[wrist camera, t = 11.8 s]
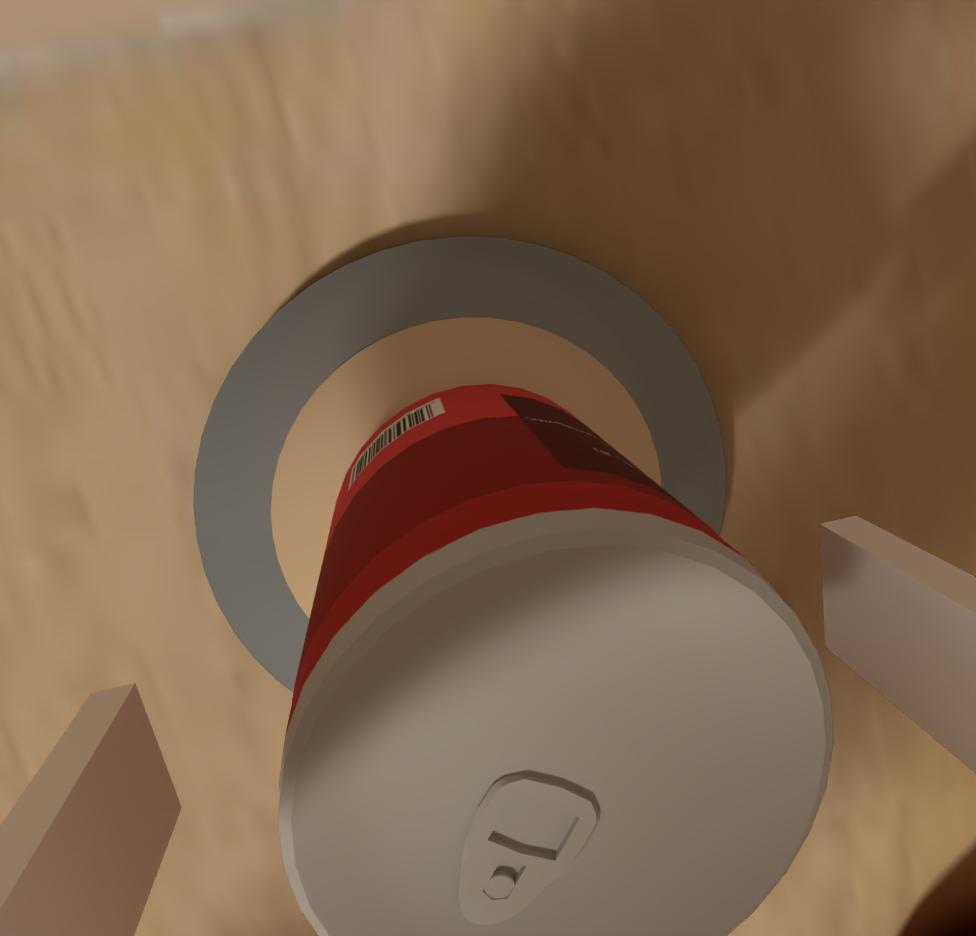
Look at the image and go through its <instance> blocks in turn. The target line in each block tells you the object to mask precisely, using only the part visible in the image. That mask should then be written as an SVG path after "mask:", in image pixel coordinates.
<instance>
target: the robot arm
mask: <svg viewBox="0 0 976 936" xmlns="http://www.w3.org/2000/svg"><path fill="white" fill-rule="evenodd" d="M820 542H821V565H822V587H823V609H824V631H825V647H826V648H827V649H829V650H830V651H831V652H832V653H833V654H835V655H836V656H837V657H838V658H839V659H840V660H842V661H843V662H844V663H845V664H846V665H848V666H849V667H850V668H851V669H852V670H854V671H855V672H856V673H857V674H858V675H859V676H861V677H862V678H863V679H864V680H865V681H867V682H868V683H869V684H870V685H871V686H872V687H874V688H875V689H876V690H877V691H878V692H880V693H881V694H882V695H883V696H884V697H886V698H887V699H888V700H889V701H890V702H891V703H893V704H894V705H895V706H896V707H897V708H899V709H900V710H901V711H902V712H903V713H905V714H906V715H907V716H908V717H909V718H910V719H912V720H913V721H914V722H915V723H916V724H918V725H919V726H920V727H921V728H922V729H923V730H925V731H926V732H927V733H928V734H929V735H931V736H932V737H933V738H934V739H935V740H937V741H938V742H939V743H940V744H941V745H942V746H944V747H945V748H946V749H947V750H948V751H950V752H951V753H952V754H953V755H954V756H956V757H957V758H958V759H959V760H960V761H961V762H963V763H964V764H965V765H966V766H967V767H969V768H970V769H971V770H972V771H973V772H975V773H976V577H975V576H973V575H971V574H969V573H967V572H965V571H963V570H961V569H959V568H957V567H956V566H954V565H952V564H950V563H948V562H946V561H944V560H942V559H940V558H938V557H936V556H934V555H932V554H930V553H928V552H926V551H924V550H922V549H920V548H918V547H916V546H915V545H913V544H911V543H909V542H907V541H905V540H903V539H901V538H899V537H897V536H895V535H893V534H891V533H889V532H887V531H885V530H883V529H881V528H879V527H877V526H876V525H874V524H872V523H870V522H868V521H866V520H864V519H862V518H860V517H858V516H852V517H847V518H843V519H839V520H835V521H830V522H826V523H822V524H820ZM180 810H181V804H180V802H179V799H178V796H177V794H176V791H175V788H174V786H173V783H172V780H171V778H170V775H169V772H168V770H167V767H166V764H165V762H164V759H163V756H162V754H161V751H160V748H159V746H158V743H157V740H156V737H155V735H154V732H153V729H152V727H151V724H150V721H149V719H148V716H147V713H146V711H145V708H144V705H143V703H142V700H141V697H140V695H139V692H138V689H137V687H136V684H135V683H134V684H129V685H125V686H121V687H117V688H112V689H108V690H104V691H99V692H95V693H91V695H90V696H89V697H88V699H87V700H86V702H85V703H84V705H83V706H82V708H81V709H80V711H79V712H78V714H77V715H76V716H75V718H74V719H73V721H72V722H71V724H70V725H69V727H68V728H67V730H66V731H65V732H64V734H63V735H62V737H61V738H60V740H59V741H58V743H57V744H56V746H55V747H54V749H53V750H52V751H51V753H50V754H49V756H48V757H47V759H46V760H45V762H44V763H43V765H42V766H41V767H40V769H39V770H38V772H37V773H36V775H35V776H34V778H33V779H32V781H31V782H30V783H29V785H28V786H27V788H26V789H25V791H24V792H23V794H22V795H21V797H20V798H19V800H18V801H17V802H16V804H15V805H14V807H13V808H12V810H11V811H10V813H9V814H8V816H7V817H6V818H5V820H4V821H3V823H2V824H1V826H0V936H134V934H135V931H136V929H137V926H138V923H139V921H140V918H141V915H142V912H143V910H144V907H145V904H146V902H147V899H148V896H149V894H150V891H151V888H152V886H153V883H154V880H155V877H156V875H157V872H158V869H159V867H160V864H161V861H162V859H163V856H164V853H165V851H166V848H167V845H168V842H169V840H170V837H171V834H172V832H173V829H174V826H175V824H176V821H177V818H178V816H179V813H180Z"/></svg>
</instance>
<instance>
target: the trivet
mask: <svg viewBox="0 0 976 936" xmlns="http://www.w3.org/2000/svg"><path fill="white" fill-rule="evenodd" d="M482 384H496V385H503V386H510V387H517V388H522V389H525V390H527V391H530V392H533V393H536V394H538V395H541V396H544V397H546V398H548V399H550V400H551V401H553V402H555V403H556V404H558V405H559V406H561V407H562V408H564V409H566V410H567V411H569V412H570V413H571V414H573V415H574V416H575V417H576V418H578V419H579V420H580V421H581V422H582V423H584V424H585V425H586V426H587V427H589V428H590V429H591V430H592V431H593V432H595V433H596V434H597V435H598V436H600V437H601V438H602V439H603V440H604V441H606V442H607V443H608V444H609V445H611V446H612V447H613V448H614V449H615V450H617V451H618V452H619V453H620V454H622V455H623V456H624V457H625V458H626V459H628V460H629V461H630V462H631V463H633V464H634V465H635V466H636V467H637V468H639V469H640V470H641V471H642V472H644V473H645V474H646V475H647V476H648V477H650V478H651V479H652V480H653V481H655V482H656V483H657V484H658V485H659V486H661V487H662V488H663V489H664V490H666V491H667V492H668V493H669V494H670V495H672V496H673V497H674V498H675V499H677V500H678V501H679V502H680V503H681V504H683V505H684V506H685V507H686V508H688V509H689V510H690V511H691V512H692V513H694V514H695V515H696V516H697V517H699V518H700V519H701V520H702V521H703V522H705V523H706V524H707V525H708V526H710V527H711V528H712V529H713V530H714V531H715V532H716V533H717V534H718V535H720V531H721V527H722V521H723V513H724V505H725V496H726V461H725V454H724V447H723V440H722V433H721V428H720V424H719V421H718V418H717V414H716V411H715V407H714V404H713V400H712V397H711V395H710V393H709V391H708V388H707V386H706V384H705V382H704V379H703V377H702V375H701V373H700V370H699V368H698V367H697V365H696V363H695V362H694V360H693V359H692V357H691V355H690V354H689V352H688V351H687V349H686V347H685V346H684V344H683V343H682V341H681V339H680V338H679V337H678V336H677V335H676V334H675V332H674V331H673V330H672V329H671V328H670V326H669V325H668V324H667V323H666V322H665V321H664V319H663V318H662V317H661V316H660V315H659V313H657V312H656V311H655V310H654V309H653V308H652V307H651V306H650V305H648V304H647V303H646V302H645V301H644V300H643V299H642V298H641V297H639V296H638V295H637V294H636V293H635V292H634V291H633V290H631V289H630V288H628V287H627V286H625V285H624V284H622V283H621V282H619V281H618V280H616V279H615V278H613V277H612V276H610V275H609V274H607V273H606V272H604V271H603V270H601V269H599V268H596V267H594V266H592V265H590V264H588V263H586V262H584V261H582V260H580V259H578V258H575V257H573V256H571V255H569V254H566V253H563V252H559V251H556V250H553V249H550V248H547V247H543V246H540V245H537V244H534V243H528V242H522V241H516V240H510V239H504V238H498V237H465V236H456V237H447V238H439V239H430V240H421V241H416V242H412V243H408V244H404V245H400V246H397V247H393V248H389V249H385V250H381V251H378V252H376V253H374V254H371V255H369V256H366V257H364V258H361V259H359V260H357V261H354V262H352V263H349V264H347V265H344V266H343V267H341V268H339V269H338V270H336V271H334V272H332V273H331V274H329V275H327V276H326V277H324V278H322V279H320V280H319V281H317V282H315V283H314V284H312V285H310V286H309V287H308V288H306V289H305V290H304V291H303V292H301V293H300V294H299V295H297V296H296V297H295V298H294V299H292V300H291V301H290V302H289V303H287V304H286V305H285V306H284V307H282V308H281V309H280V310H279V311H278V312H277V313H276V314H275V315H274V316H273V317H272V318H271V319H270V320H269V321H268V322H267V323H266V324H265V325H264V326H263V328H262V329H261V330H260V331H259V332H258V333H257V334H256V335H255V336H254V337H253V338H252V340H251V341H250V342H249V344H248V345H247V347H246V348H245V349H244V351H243V352H242V354H241V355H240V356H239V358H238V359H237V361H236V362H235V363H234V365H233V366H232V368H231V369H230V371H229V373H228V375H227V377H226V379H225V381H224V383H223V385H222V387H221V388H220V390H219V392H218V394H217V396H216V398H215V400H214V402H213V405H212V408H211V411H210V414H209V417H208V420H207V422H206V425H205V428H204V431H203V434H202V438H201V443H200V448H199V453H198V459H197V464H196V469H195V485H194V515H195V525H196V535H197V542H198V546H199V550H200V554H201V558H202V562H203V566H204V570H205V574H206V576H207V579H208V581H209V584H210V586H211V589H212V591H213V593H214V596H215V598H216V601H217V603H218V605H219V607H220V609H221V610H222V612H223V614H224V616H225V617H226V619H227V621H228V622H229V624H230V626H231V628H232V629H233V631H234V633H235V634H236V635H237V637H238V638H239V639H240V640H241V642H242V643H243V644H244V645H245V647H246V648H247V649H248V651H249V652H250V653H251V654H252V656H253V657H254V658H255V659H256V660H257V661H258V662H259V663H260V664H261V665H262V666H263V667H264V668H265V669H266V670H267V671H268V672H269V673H270V674H271V675H272V676H273V677H274V678H275V679H276V680H277V681H279V682H280V683H281V684H283V685H284V686H285V687H287V688H288V689H289V690H291V691H292V692H294V685H295V681H296V676H297V672H298V668H299V663H300V659H301V654H302V650H303V646H304V641H305V637H306V632H307V628H308V623H309V619H310V615H311V610H312V606H313V601H314V597H315V593H316V588H317V584H318V579H319V575H320V571H321V566H322V562H323V557H324V553H325V548H326V544H327V540H328V535H329V531H330V526H331V522H332V518H333V513H334V509H335V504H336V500H337V497H338V494H339V492H340V489H341V486H342V483H343V481H344V478H345V475H346V472H347V471H348V469H349V467H350V466H351V464H352V462H353V461H354V459H355V457H356V456H357V454H358V452H359V451H360V449H361V447H362V446H363V445H364V444H365V443H366V442H367V441H368V440H369V439H370V438H371V436H372V435H373V434H374V433H375V432H376V431H377V430H378V429H379V428H380V426H381V425H382V424H384V423H385V422H386V421H388V420H389V419H390V418H392V417H393V416H394V415H396V414H397V413H398V412H400V411H401V410H402V409H404V408H405V407H407V406H409V405H411V404H413V403H415V402H417V401H419V400H421V399H423V398H425V397H427V396H429V395H431V394H433V393H437V392H441V391H444V390H448V389H452V388H456V387H459V386H466V385H482Z"/></svg>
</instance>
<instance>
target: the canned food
mask: <svg viewBox="0 0 976 936" xmlns="http://www.w3.org/2000/svg"><path fill="white" fill-rule="evenodd" d="M832 748H833V722H832V702H831V694H830V691H829V687H828V684H827V680H826V677H825V674H824V670H823V667H822V663H821V660H820V656H819V653H818V651H817V650H816V648H815V646H814V644H813V643H812V641H811V639H810V638H809V636H808V634H807V632H806V631H805V629H804V627H803V626H802V624H801V622H800V620H799V619H798V617H797V615H796V614H795V612H794V611H793V610H792V609H791V608H790V607H789V606H788V605H787V604H786V603H785V602H784V601H783V600H782V599H781V597H780V595H779V594H778V592H777V590H776V589H775V588H774V587H773V586H772V585H771V584H770V583H769V582H768V581H767V580H766V579H765V578H764V577H763V576H762V575H761V574H760V573H759V572H758V571H757V570H756V569H755V568H754V567H753V566H752V565H751V564H750V563H749V562H748V561H747V560H746V559H745V558H744V557H743V556H742V555H741V554H739V553H738V552H737V551H736V550H735V549H733V548H732V547H731V546H730V545H729V544H727V543H726V542H725V541H724V540H723V539H722V538H720V536H719V535H718V534H717V533H716V532H715V531H714V530H713V529H712V528H711V527H710V526H708V525H707V524H706V523H705V522H703V521H702V520H701V519H700V518H699V517H697V516H696V515H695V514H694V513H692V512H691V511H690V510H689V509H688V508H686V507H685V506H684V505H683V504H681V503H680V502H679V501H678V500H677V499H675V498H674V497H673V496H672V495H670V494H669V493H668V492H667V491H666V490H664V489H663V488H662V487H661V486H659V485H658V484H657V483H656V482H655V481H653V480H652V479H651V478H650V477H648V476H647V475H646V474H645V473H644V472H642V471H641V470H640V469H639V468H637V467H636V466H635V465H634V464H633V463H631V462H630V461H629V460H628V459H626V458H625V457H624V456H623V455H622V454H620V453H619V452H618V451H617V450H615V449H614V448H613V447H612V446H611V445H609V444H608V443H607V442H606V441H604V440H603V439H602V438H601V437H600V436H598V435H597V434H596V433H595V432H593V431H592V430H591V429H590V428H589V427H587V426H586V425H585V424H584V423H582V422H581V421H580V420H579V419H578V418H576V417H575V416H574V415H573V414H571V413H570V412H569V411H567V410H566V409H564V408H562V407H561V406H559V405H558V404H556V403H555V402H553V401H551V400H550V399H548V398H546V397H544V396H541V395H538V394H536V393H533V392H530V391H527V390H525V389H522V388H517V387H510V386H503V385H496V384H482V385H466V386H459V387H456V388H452V389H448V390H444V391H441V392H437V393H433V394H431V395H429V396H427V397H425V398H423V399H421V400H419V401H417V402H415V403H413V404H411V405H409V406H407V407H405V408H404V409H402V410H401V411H400V412H398V413H397V414H396V415H394V416H393V417H392V418H390V419H389V420H388V421H386V422H385V423H384V424H382V425H381V426H380V428H379V429H378V430H377V431H376V432H375V433H374V434H373V435H372V436H371V438H370V439H369V440H368V441H367V442H366V443H365V444H364V445H363V446H362V447H361V449H360V451H359V452H358V454H357V456H356V457H355V459H354V461H353V462H352V464H351V466H350V467H349V469H348V471H347V472H346V475H345V478H344V481H343V483H342V486H341V489H340V492H339V494H338V497H337V500H336V504H335V509H334V513H333V518H332V522H331V526H330V531H329V535H328V540H327V544H326V548H325V553H324V557H323V562H322V566H321V571H320V575H319V579H318V584H317V588H316V593H315V597H314V601H313V606H312V610H311V615H310V619H309V623H308V628H307V632H306V637H305V641H304V646H303V650H302V654H301V659H300V663H299V668H298V672H297V676H296V681H295V685H294V692H293V699H292V706H291V711H290V716H289V720H288V725H287V730H286V735H285V742H284V750H283V757H282V764H281V772H280V779H279V789H280V800H279V808H278V823H279V832H280V842H281V852H282V862H283V865H284V868H285V871H286V873H287V876H288V879H289V882H290V884H291V887H292V890H293V893H294V895H295V898H296V901H297V904H298V906H299V908H300V909H301V911H302V912H303V914H304V915H305V917H306V918H307V920H308V921H309V923H310V924H311V926H312V927H313V929H314V930H315V931H316V933H317V934H318V936H728V935H729V934H730V933H731V932H732V931H733V930H734V929H735V928H736V927H737V926H739V925H740V924H741V923H742V922H743V921H744V920H745V919H746V918H747V917H749V916H750V915H751V914H752V913H753V912H754V911H755V910H756V909H757V907H758V906H759V905H760V904H761V903H762V901H763V900H764V899H765V898H766V897H767V895H768V894H769V893H770V892H771V890H772V889H773V888H774V887H775V886H776V884H777V883H778V882H779V881H780V880H781V878H782V877H783V876H784V875H785V873H786V872H787V870H788V868H789V867H790V865H791V863H792V861H793V860H794V858H795V856H796V855H797V853H798V851H799V849H800V848H801V846H802V844H803V843H804V841H805V839H806V837H807V836H808V834H809V832H810V830H811V827H812V824H813V822H814V819H815V816H816V814H817V811H818V808H819V806H820V803H821V800H822V797H823V795H824V792H825V789H826V785H827V779H828V773H829V767H830V761H831V755H832Z"/></svg>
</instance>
